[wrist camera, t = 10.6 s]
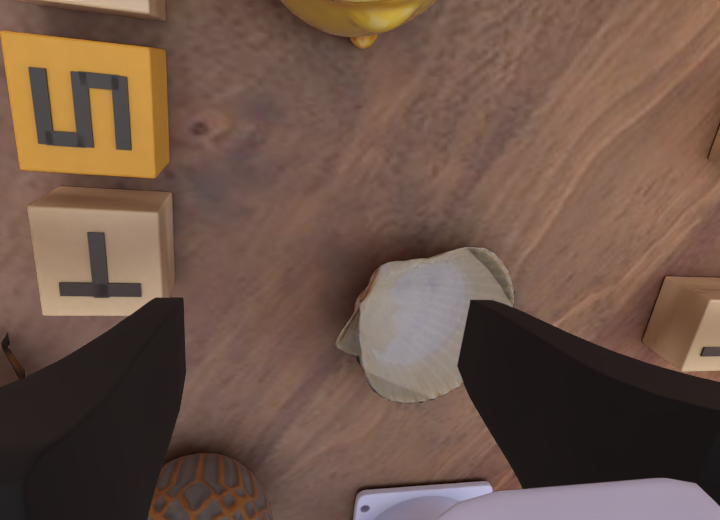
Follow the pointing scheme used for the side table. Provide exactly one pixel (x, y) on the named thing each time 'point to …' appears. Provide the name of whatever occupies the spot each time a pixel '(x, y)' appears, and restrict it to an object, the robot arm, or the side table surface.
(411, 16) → the mug
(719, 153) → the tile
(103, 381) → the robot arm
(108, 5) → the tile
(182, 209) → the side table surface
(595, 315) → the side table surface
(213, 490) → the vase
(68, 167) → the yellow number block
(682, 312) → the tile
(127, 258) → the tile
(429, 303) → the seashell
